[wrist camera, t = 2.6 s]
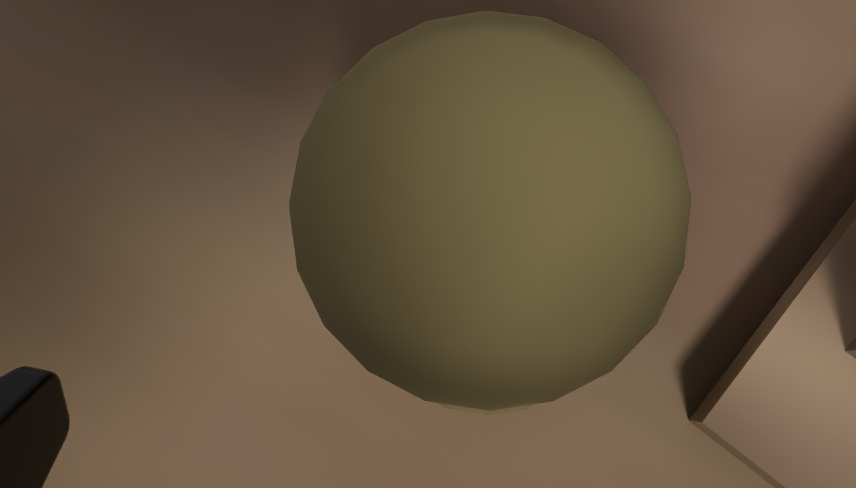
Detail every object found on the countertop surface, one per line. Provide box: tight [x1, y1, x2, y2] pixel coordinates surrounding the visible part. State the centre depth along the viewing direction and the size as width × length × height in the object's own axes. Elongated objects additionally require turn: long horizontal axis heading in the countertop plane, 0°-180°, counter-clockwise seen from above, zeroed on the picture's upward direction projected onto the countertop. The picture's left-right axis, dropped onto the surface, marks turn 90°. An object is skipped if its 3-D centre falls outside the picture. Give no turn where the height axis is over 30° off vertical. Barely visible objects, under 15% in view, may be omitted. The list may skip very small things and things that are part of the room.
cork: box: [290, 10, 691, 415], centre depth 15 cm, size 6×6×11 cm
